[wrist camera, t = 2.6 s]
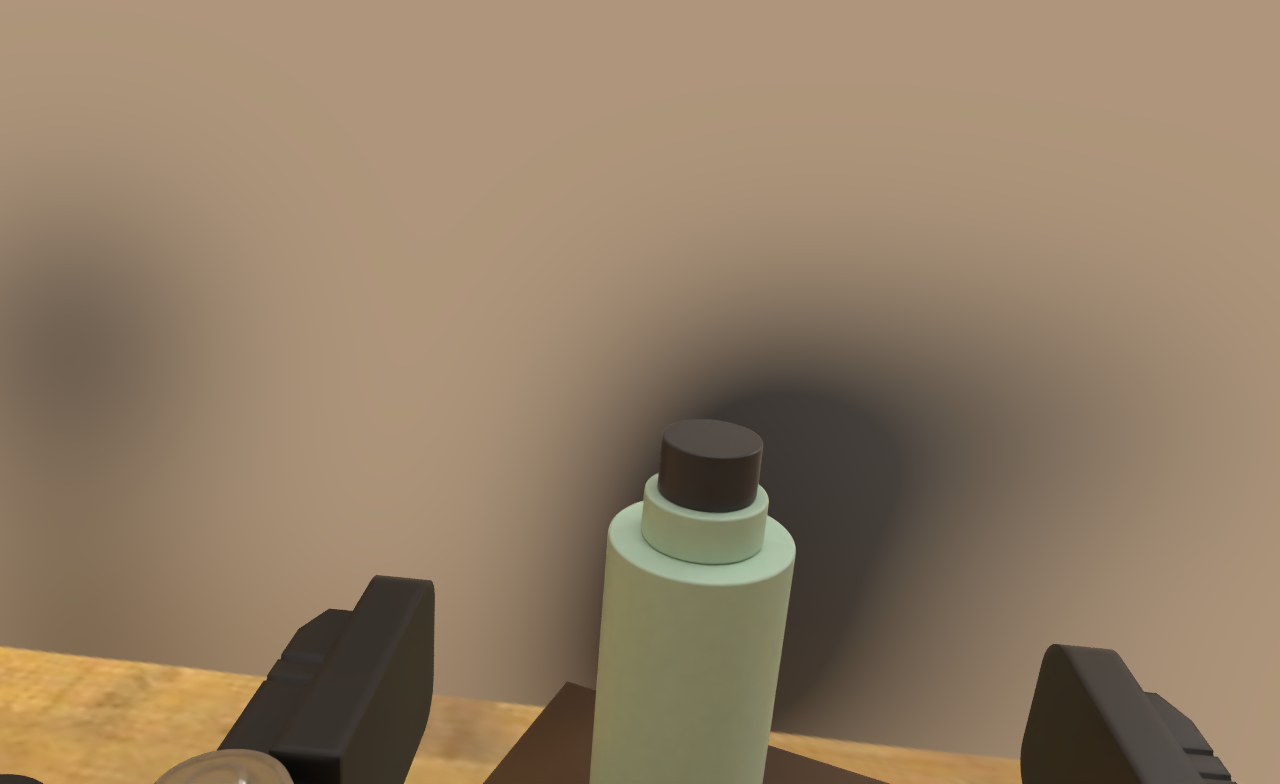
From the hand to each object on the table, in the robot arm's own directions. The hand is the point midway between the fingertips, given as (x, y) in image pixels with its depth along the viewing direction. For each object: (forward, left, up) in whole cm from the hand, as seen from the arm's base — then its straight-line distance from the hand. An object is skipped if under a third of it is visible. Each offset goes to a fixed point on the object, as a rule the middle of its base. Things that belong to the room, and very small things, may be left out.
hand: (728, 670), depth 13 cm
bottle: (+4, -11, -14) cm, 18 cm away
